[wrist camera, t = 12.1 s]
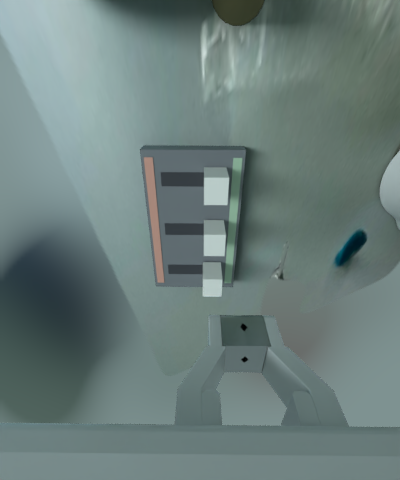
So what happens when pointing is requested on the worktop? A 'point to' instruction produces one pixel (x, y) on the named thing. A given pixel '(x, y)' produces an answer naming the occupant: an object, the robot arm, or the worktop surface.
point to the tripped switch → (214, 238)
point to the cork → (237, 10)
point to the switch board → (189, 210)
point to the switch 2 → (212, 279)
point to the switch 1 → (216, 186)
